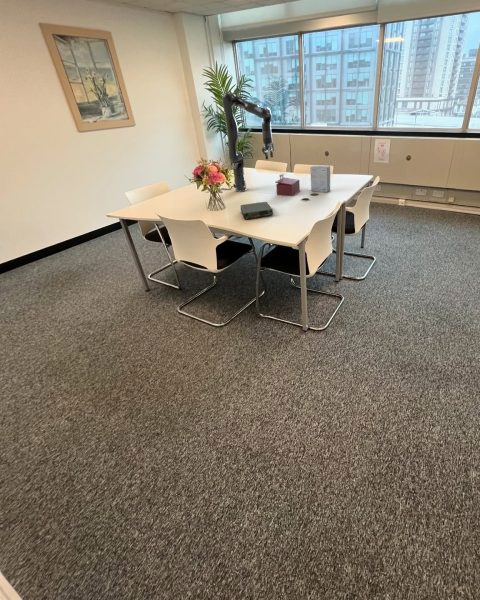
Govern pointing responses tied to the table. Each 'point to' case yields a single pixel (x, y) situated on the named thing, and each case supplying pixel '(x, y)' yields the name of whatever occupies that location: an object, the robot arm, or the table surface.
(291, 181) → the purple box lid
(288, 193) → the dark red box
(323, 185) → the hard drive box
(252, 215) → the network switch
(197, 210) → the table surface
